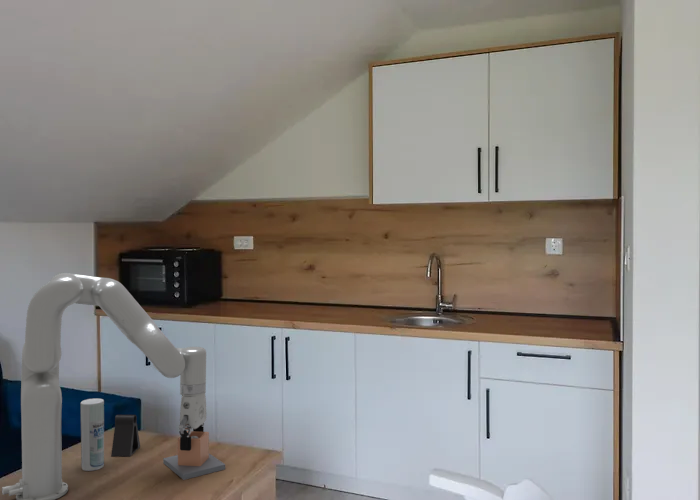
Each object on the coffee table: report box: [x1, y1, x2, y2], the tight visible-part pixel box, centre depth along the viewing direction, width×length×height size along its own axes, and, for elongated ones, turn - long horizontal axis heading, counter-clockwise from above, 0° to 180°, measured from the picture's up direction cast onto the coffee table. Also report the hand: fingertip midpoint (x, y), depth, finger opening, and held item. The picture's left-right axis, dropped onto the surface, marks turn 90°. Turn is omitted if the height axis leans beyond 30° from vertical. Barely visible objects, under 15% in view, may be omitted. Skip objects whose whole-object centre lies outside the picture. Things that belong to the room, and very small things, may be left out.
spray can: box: [80, 398, 105, 472], centre depth 181 cm, size 6×6×20 cm
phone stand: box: [110, 414, 141, 458], centre depth 194 cm, size 9×6×12 cm, turn 179°
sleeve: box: [177, 430, 210, 466], centre depth 182 cm, size 7×7×8 cm
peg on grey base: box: [162, 436, 226, 481], centre depth 182 cm, size 13×16×9 cm
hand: (192, 444), depth 181 cm, fingers open, 9 cm apart
